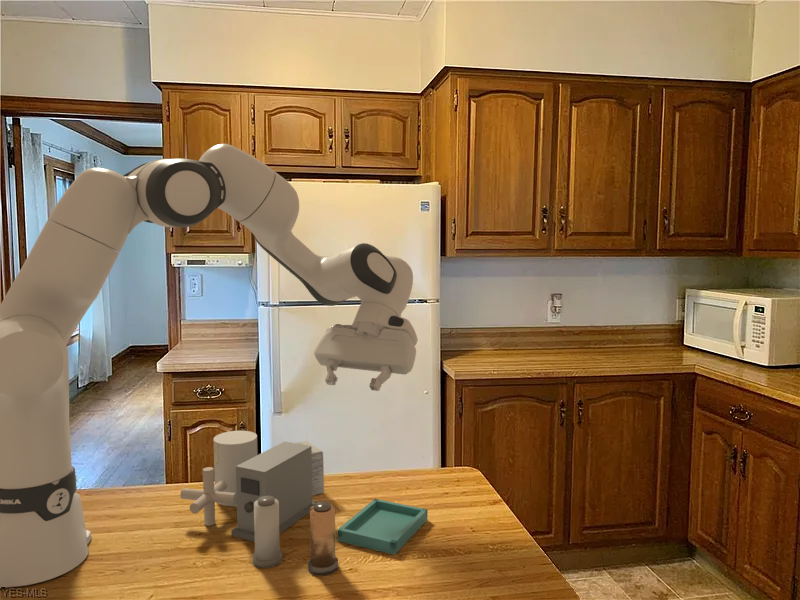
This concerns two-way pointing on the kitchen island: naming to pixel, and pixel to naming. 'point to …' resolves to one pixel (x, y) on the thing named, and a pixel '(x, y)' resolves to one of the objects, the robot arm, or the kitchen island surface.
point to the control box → (274, 486)
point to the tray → (383, 526)
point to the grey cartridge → (266, 533)
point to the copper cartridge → (322, 539)
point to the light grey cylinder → (232, 456)
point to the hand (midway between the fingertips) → (351, 386)
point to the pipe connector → (208, 496)
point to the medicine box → (316, 469)
